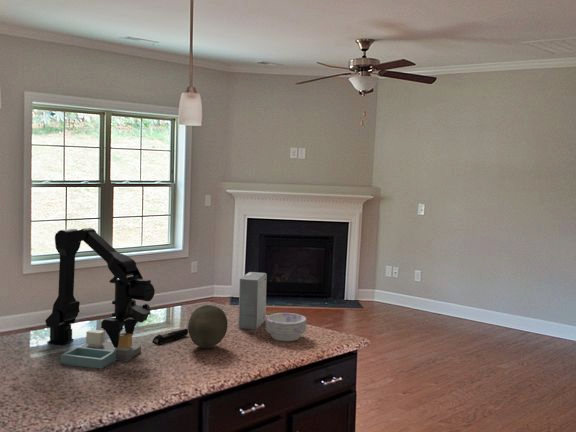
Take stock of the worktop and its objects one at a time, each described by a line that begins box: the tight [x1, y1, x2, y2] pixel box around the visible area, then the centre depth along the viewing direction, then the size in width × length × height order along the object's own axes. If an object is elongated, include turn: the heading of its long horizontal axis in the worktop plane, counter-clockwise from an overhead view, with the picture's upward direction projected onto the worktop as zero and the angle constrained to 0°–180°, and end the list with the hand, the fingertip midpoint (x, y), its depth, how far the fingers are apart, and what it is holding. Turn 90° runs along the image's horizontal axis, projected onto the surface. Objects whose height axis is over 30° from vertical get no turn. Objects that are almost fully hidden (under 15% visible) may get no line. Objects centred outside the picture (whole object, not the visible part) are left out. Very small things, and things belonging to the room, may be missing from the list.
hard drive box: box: [237, 271, 268, 331], centre depth 250 cm, size 16×8×20 cm, turn 169°
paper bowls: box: [265, 312, 307, 342], centre depth 233 cm, size 15×15×8 cm
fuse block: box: [80, 341, 142, 362], centre depth 207 cm, size 18×10×2 cm, turn 77°
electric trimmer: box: [152, 328, 189, 345], centre depth 226 cm, size 4×16×3 cm, turn 143°
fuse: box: [85, 329, 106, 348], centre depth 208 cm, size 5×3×7 cm, turn 77°
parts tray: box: [60, 346, 117, 370], centre depth 198 cm, size 14×9×3 cm, turn 77°
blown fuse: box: [116, 332, 133, 351], centre depth 206 cm, size 5×3×7 cm, turn 77°
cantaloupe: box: [187, 304, 228, 349], centre depth 217 cm, size 14×14×15 cm
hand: (122, 343), depth 206 cm, fingers open, 9 cm apart
